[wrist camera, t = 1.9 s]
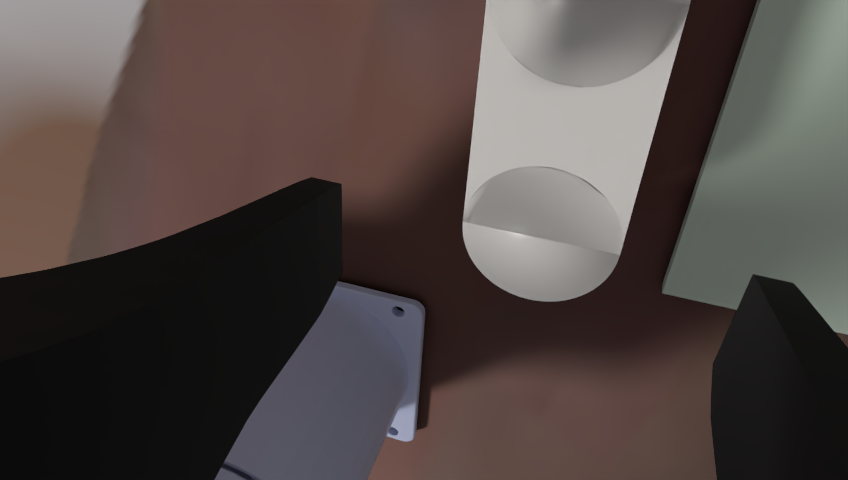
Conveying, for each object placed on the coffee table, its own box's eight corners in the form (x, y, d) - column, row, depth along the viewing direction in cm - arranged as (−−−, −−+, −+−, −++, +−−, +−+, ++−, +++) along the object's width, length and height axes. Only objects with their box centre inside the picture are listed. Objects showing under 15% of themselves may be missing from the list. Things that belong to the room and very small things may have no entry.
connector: (494, 196, 22) (456, 282, 18) (559, -284, 15) (520, -319, 11) (614, 221, 21) (602, 316, 17) (745, -277, 14) (777, -311, 10)
